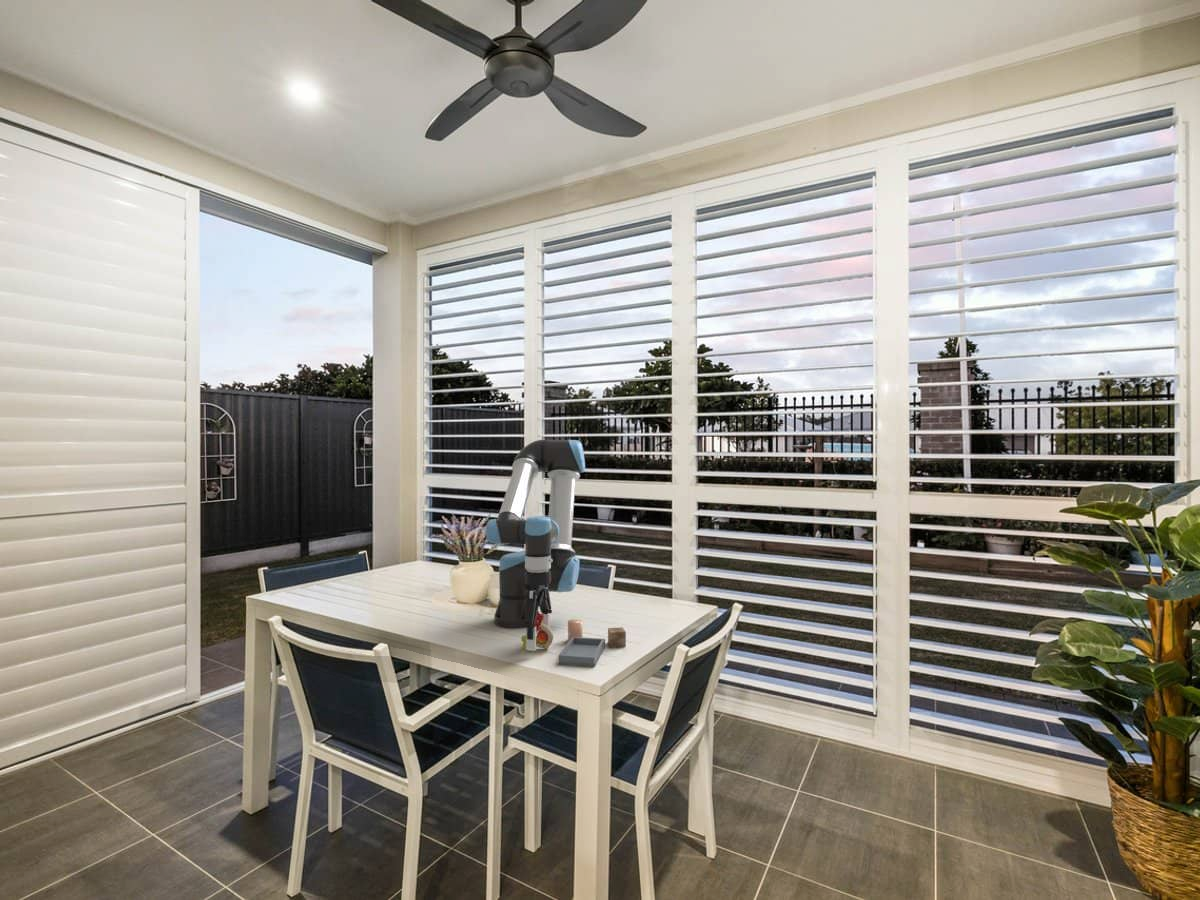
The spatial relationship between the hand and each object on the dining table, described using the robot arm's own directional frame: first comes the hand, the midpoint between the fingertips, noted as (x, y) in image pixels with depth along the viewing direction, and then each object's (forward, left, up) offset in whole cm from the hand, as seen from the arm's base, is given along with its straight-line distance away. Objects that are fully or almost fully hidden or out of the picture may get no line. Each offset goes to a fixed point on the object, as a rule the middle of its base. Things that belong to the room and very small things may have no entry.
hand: (538, 642), depth 173 cm
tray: (+14, -3, -2) cm, 14 cm away
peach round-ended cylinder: (+9, +9, -2) cm, 13 cm away
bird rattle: (0, 0, -2) cm, 2 cm away
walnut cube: (+22, +8, -2) cm, 24 cm away
